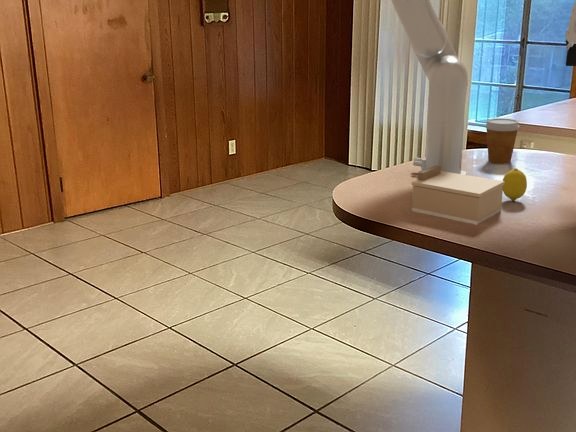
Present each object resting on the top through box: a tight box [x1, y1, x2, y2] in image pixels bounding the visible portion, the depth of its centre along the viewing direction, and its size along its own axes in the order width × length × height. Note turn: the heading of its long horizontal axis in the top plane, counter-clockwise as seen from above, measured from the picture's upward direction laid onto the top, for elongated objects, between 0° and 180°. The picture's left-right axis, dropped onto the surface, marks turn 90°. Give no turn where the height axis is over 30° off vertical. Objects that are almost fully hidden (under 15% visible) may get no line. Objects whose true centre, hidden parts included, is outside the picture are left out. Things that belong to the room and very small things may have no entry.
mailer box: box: [411, 185, 504, 226], centre depth 149 cm, size 16×12×6 cm
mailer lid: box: [411, 165, 505, 198], centre depth 148 cm, size 16×12×3 cm
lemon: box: [502, 167, 528, 202], centre depth 155 cm, size 6×6×8 cm
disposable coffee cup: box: [484, 118, 521, 165], centre depth 191 cm, size 10×10×12 cm
